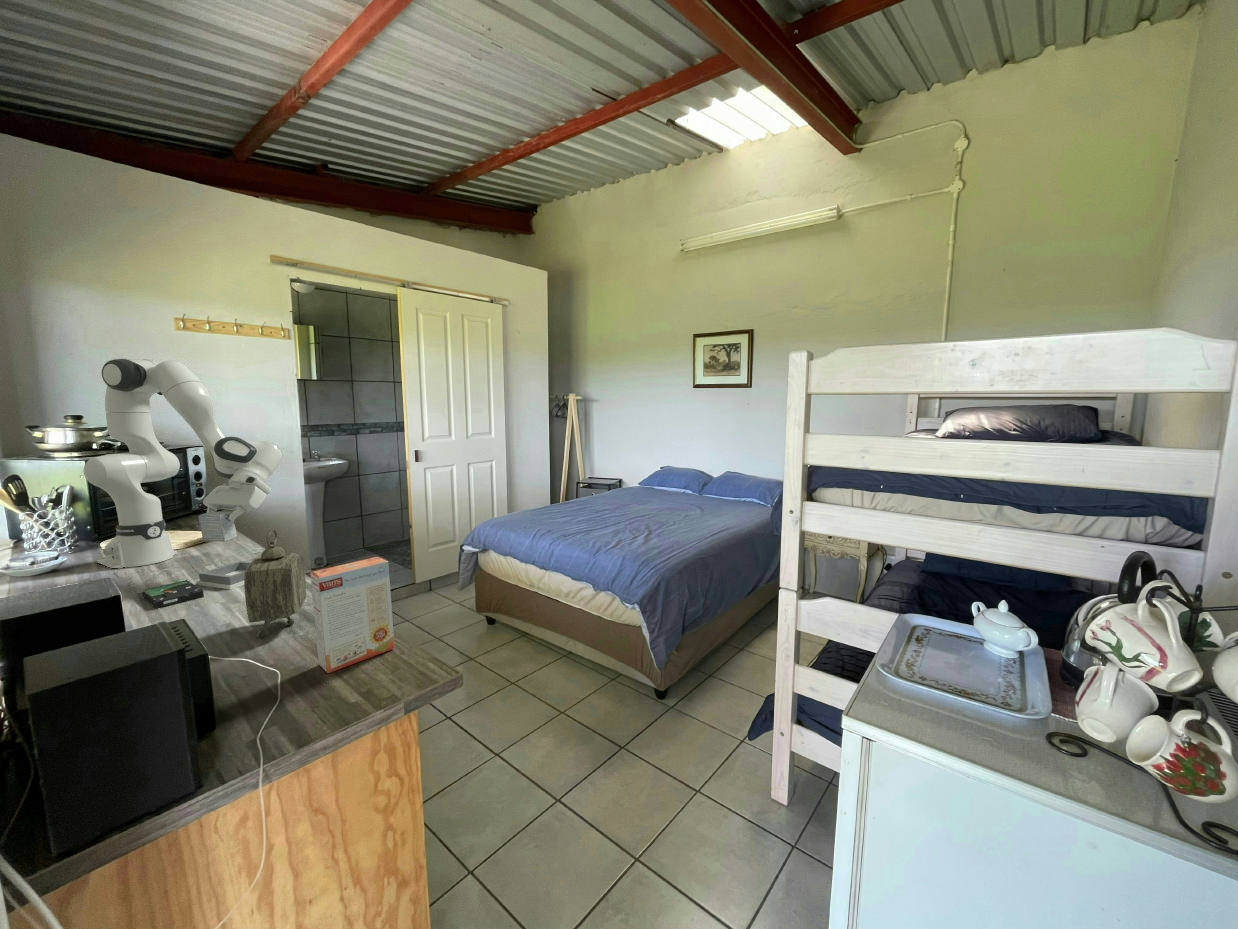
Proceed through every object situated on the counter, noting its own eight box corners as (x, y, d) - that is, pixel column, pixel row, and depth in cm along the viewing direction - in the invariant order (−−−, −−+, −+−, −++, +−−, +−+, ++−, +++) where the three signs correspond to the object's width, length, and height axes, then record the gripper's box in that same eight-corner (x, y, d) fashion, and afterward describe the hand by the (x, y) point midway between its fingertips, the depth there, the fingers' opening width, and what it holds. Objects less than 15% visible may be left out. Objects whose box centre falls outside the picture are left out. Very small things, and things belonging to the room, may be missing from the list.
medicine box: (237, 537, 156) (232, 511, 154) (224, 541, 152) (219, 515, 150) (215, 537, 157) (210, 511, 155) (202, 541, 153) (197, 515, 151)
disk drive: (205, 599, 140) (187, 587, 148) (204, 589, 140) (186, 579, 148) (157, 611, 132) (141, 599, 140) (156, 601, 131) (140, 589, 139)
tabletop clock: (269, 617, 126) (260, 524, 123) (309, 612, 130) (302, 521, 127) (249, 642, 113) (239, 538, 110) (294, 636, 116) (286, 534, 113)
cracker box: (384, 641, 114) (378, 555, 111) (395, 649, 110) (390, 560, 107) (316, 664, 103) (309, 570, 101) (326, 675, 99) (318, 577, 97)
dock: (196, 584, 150) (195, 573, 149) (242, 570, 163) (241, 560, 163) (230, 589, 146) (229, 578, 145) (274, 574, 159) (273, 563, 159)
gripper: (214, 477, 162) (185, 512, 154) (261, 479, 157) (233, 515, 149) (230, 488, 167) (202, 523, 159) (275, 490, 162) (249, 526, 153)
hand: (218, 519), depth 154 cm, fingers closed on medicine box, 8 cm apart
